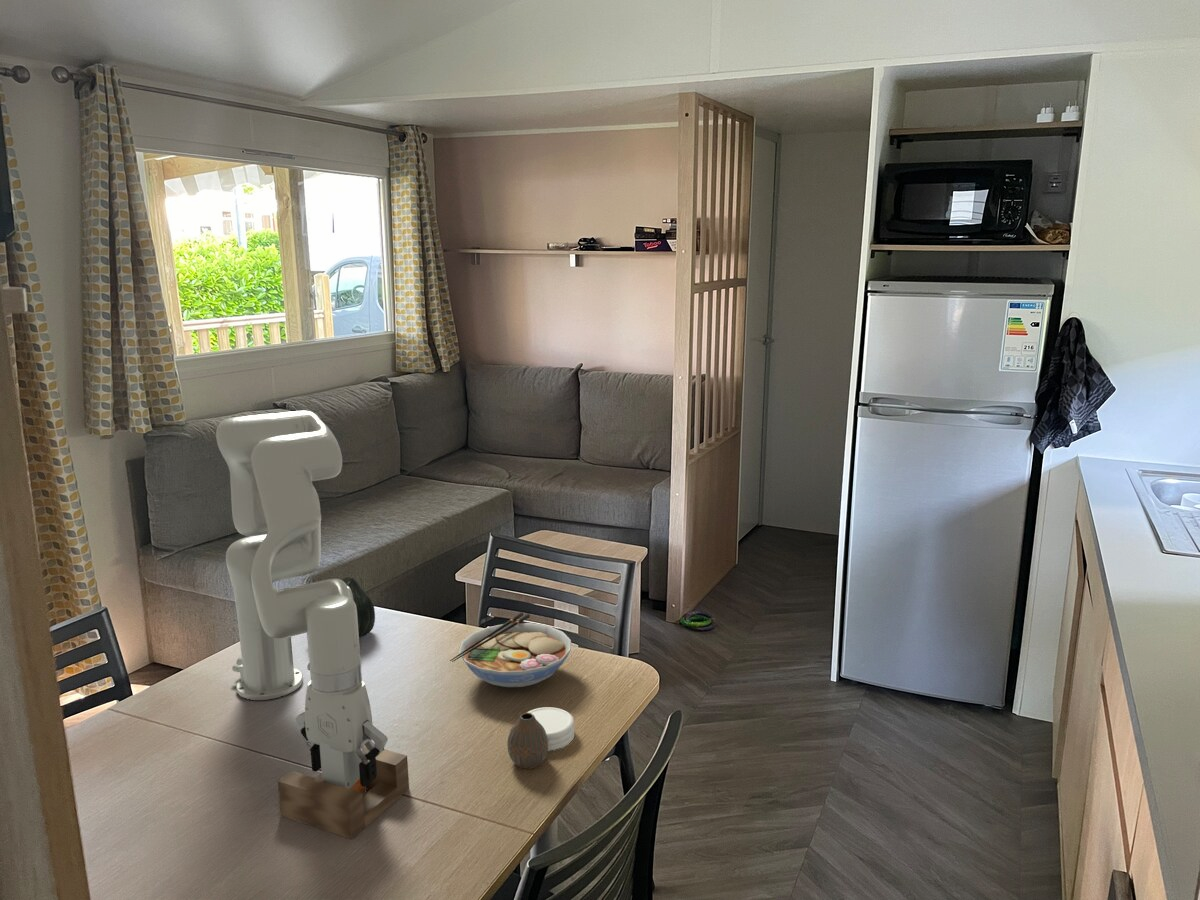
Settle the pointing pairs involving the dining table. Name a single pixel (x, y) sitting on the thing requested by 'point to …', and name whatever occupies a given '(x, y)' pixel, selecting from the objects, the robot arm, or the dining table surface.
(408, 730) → the dining table surface
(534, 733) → the vase
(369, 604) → the squash
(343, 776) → the skincare box
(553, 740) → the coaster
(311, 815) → the socket
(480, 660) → the ramen bowl
